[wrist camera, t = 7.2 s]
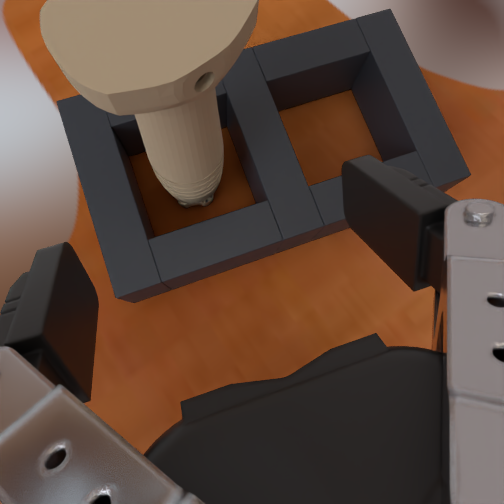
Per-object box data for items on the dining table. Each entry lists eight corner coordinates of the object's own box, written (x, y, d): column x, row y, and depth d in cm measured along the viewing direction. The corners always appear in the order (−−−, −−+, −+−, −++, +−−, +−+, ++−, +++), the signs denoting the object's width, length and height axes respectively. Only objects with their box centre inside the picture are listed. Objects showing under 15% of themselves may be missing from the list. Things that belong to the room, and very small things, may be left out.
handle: (254, 187, 26) (289, 7, 11) (177, 244, 25) (107, 126, 10) (211, 134, 27) (191, -102, 12) (133, 188, 26) (7, 0, 11)
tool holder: (368, 51, 29) (390, 7, 25) (436, 197, 27) (471, 175, 23) (81, 135, 26) (56, 100, 22) (133, 303, 24) (115, 298, 20)
